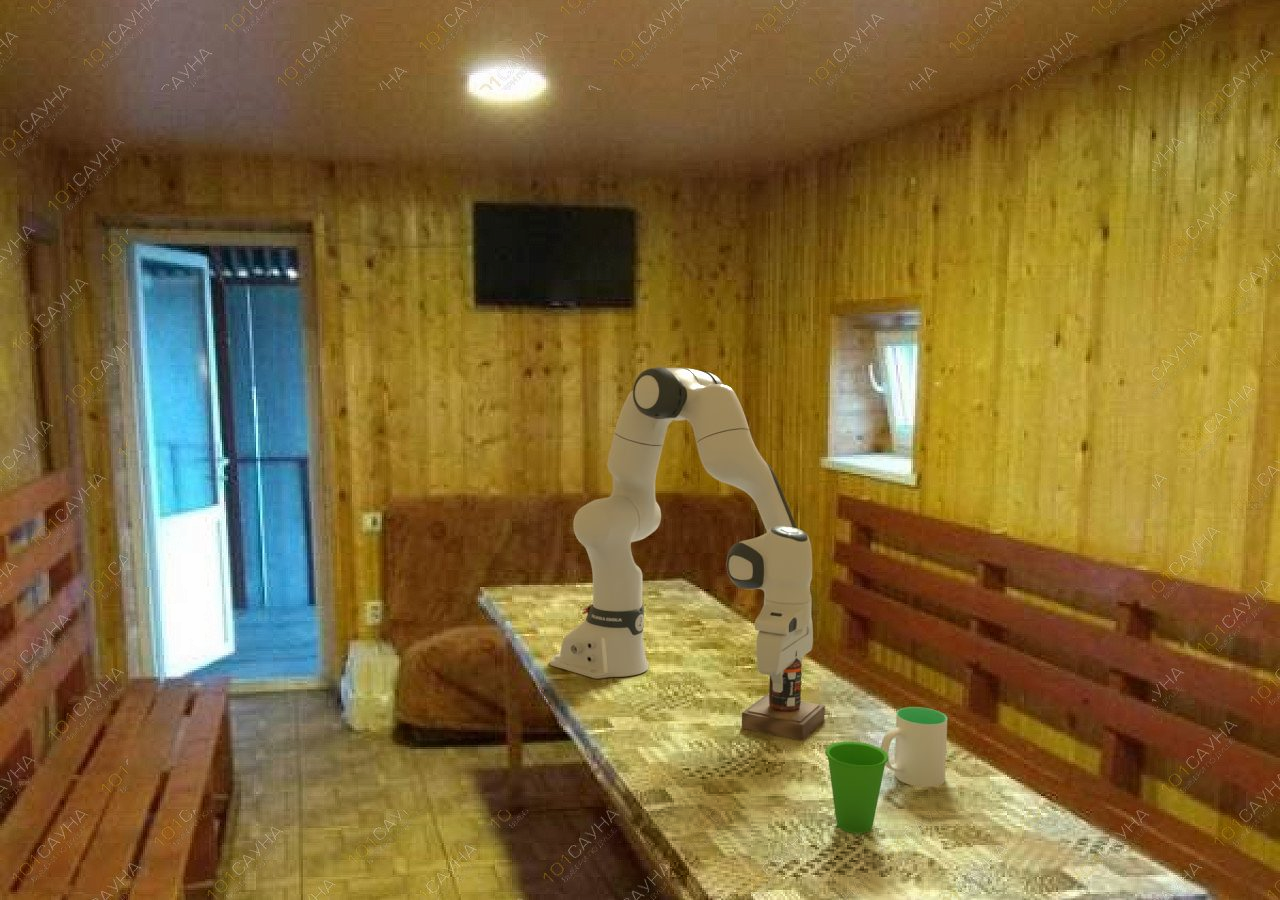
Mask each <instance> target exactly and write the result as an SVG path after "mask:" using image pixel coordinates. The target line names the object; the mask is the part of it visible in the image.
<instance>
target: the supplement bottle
mask: <svg viewBox="0 0 1280 900" xmlns="http://www.w3.org/2000/svg"><path fill="white" fill-rule="evenodd" d="M796 656H797V651H796ZM796 656H795V657H796ZM802 666H803V665H802V662H800V660H798V659H797V658H796V659H795V661H794V662H793V664H792V665H790V666H789V667H787V668H786V669H785V670H783V675H782V678H783V682H785V685H784V690H783V691H782V692H781V693H778V692H774V691H773V682H772V679H771V676H770V675H769V688H768V690H769V692H768V695H769V704H770V706H771V707H772V708H774V709H776V710H781V711H794V710H797V709H798V708H799V707H800V703H801V701H802V696H801V695H802V669H803V668H802Z"/></svg>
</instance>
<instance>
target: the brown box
mask: <svg viewBox="0 0 1280 900" xmlns="http://www.w3.org/2000/svg"><path fill="white" fill-rule="evenodd" d="M825 711H826V705H824V704H818V703H813V702H808V701H803V700H801V703H800V707H799V708H798V709H797V710H794V711H781V710H776V709H774V708H772V707H771V706H770V704H769V694H765V695H764V696H762V697H761V698H760V699H758V700H757V701H755V702H754V703H753V704H752V705H751V706H748V708H746V709H745V710H743V711H742V712H741V729H744V730H749V731H753V732H756V733H757V732H758V733H763V734H768V735H772V736H777V737H781V738H787V739H790V740H791V739H792V740H796V741H800V742H803V741H804V740H805V739H807V738H808V737H809V736H810V735H811V734H812V733H813V732H815V730H816V729H817V728H819V726H820V725H822V724H823V723H824V722H825V715H826V714H825Z"/></svg>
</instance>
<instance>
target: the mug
mask: <svg viewBox="0 0 1280 900" xmlns="http://www.w3.org/2000/svg"><path fill="white" fill-rule="evenodd" d="M895 718H896V720H895V722H896V723H895V728H891V729H890V730H888V731H887V732H886V733H885V735H884V736H883V737H882V739H881V744H880V748H881V749H882V750H884V751H885V752H886V753H887V755H888V756H889V752H890V751H889V750H890V745H891V742H892V741H893V740H894V739H895V741H894V742H895V743H894V744H895V745H894V748H895V749H894V750H895V752H894V763H893V764H891V763H890V762H891V761H890V759H889V757H888V761H887V762H886V763H885V767H886V768H887V769H889V770H891V771H894V776H895V778H896V779H897V780H899V781H900V782H902V783H904V784H907V785H910V786H915V787H919V788H920V787H921V788H936V787H938V786H942V785H943V784H944V783H945V781H946V765H947V764H946V761H947V758H946V757H947V737H948V735H947V734H948V717H947V715H946V714H945V713H943V712H941V711H939V710H935V709H933V708H928V707H920V706H908V707H903V708H900V709H898V710H897V711H896V715H895Z"/></svg>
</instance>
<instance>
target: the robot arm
mask: <svg viewBox="0 0 1280 900" xmlns="http://www.w3.org/2000/svg"><path fill="white" fill-rule="evenodd" d="M673 421H679V422H680V421H687V422H689V423H690V425H691V427H692V430H693V434H694V438H695V443H696V448H697V452H698V456H699V459H700V462H701V464H702V466H703V468H704V470H705V472H706V473H707V474H708V475H710V476H711V477H712V478H714V479H715V480H716V481H718V482H721V483H724V484H726V485H730V486H732V487H735V488H737V489H739V490H741V491H743V492H745V493H746V494H748V495H749V496H750V498H751V499H752V500H753V501H754V503H755V505H756V507H757V510H758V513H759V515H760V519H761V521H762V522H763V523H762V524H763V525H764V527H765V530H766V532H765V533H764V534H762V535H760V536H757V537H754V538H749V539H746V540H740V541H739V542H736V543H734V544H733V545H731V547H730V549H729V550H728V553H727V556H726V563H725V564H726V565H725V566H726V572H727V575H728V577H729V580H730V581H731V582H732V583H733V584H734V585H735V586H736V587H737V588H739V589H742V590H756V589H759V590H761V591H763V593H764V597H763V598H764V599H763V605H762V607H761V608H762V609H761V611H760V613H759V614H758V615H757V617H756V618H755V621H754V630H755V631H758V633H757V635H756V667H757V669H758V672H759V673H760V674H761V675H762V674H763V675H767V676H769V677H770V676H771V679H772V682H773V691H774V692H778V693H781V692H782V691H783V690H784V685H785V682H783V678H782V675H783V670H785V669H786V668H787V667H789V666H790V665H792V664H793V662H794V661H795V659H796V658H797V659H798V660H800V662H801V663H802V661H803V660H802V659H803V657H804V656H805V655H807V654H808V653H809V652H811V651H812V649H813V645H814V636H813V635H814V631H813V630H814V627H813V619H812V594H811V589H810V587H811V582H812V579H813V551H812V544H811V540H810V537H809V535H808V534H807V533H806V532H804V531H803V530H801V529H799V528H798V527H797V525H796V523H795V520H794V518H793V515H792V512H791V511H790V507H789V505H788V502H787V500H786V497H785V495H784V493H783V490H782V487H781V486H780V483H779V481H778V478H777V476H776V473H775V472H774V470H773V469H772V467H771V466H770V464H769V463H768V462H767V461H765V459H764V458H763V457H762V455H761V454H760V451H759V450H758V448H757V447H756V445H755V442H754V439H753V437H752V434H751V430H750V427H749V424H748V421H747V418H746V415H745V413H744V409H743V407H742V404H741V402H740V399H739V398H738V396H737V394H736V392H735V390H734V389H732V388H731V387H730V386H728V385H725V384H723V382H722V380H720V378H719V377H718V376H716V375H715V374H713V373H711V372H708V371H706V370H698V369H693V368H689V367H662V366H657V367H652V368H650V367H649V368H648V369H645V370H643V371H642V372H641V373H640V374H638V376H637V377H636V379H635V381H634V383H633V387H632V391H630V392H629V393H628V395H627V397H626V399H625V401H624V403H623V406H622V408H621V410H620V414H619V415H618V419H617V422H616V425H615V429H614V433H613V435H612V436H613V437H612V441H611V445H610V450H609V453H608V458H607V462H606V464H607V465H606V467H607V470H608V472H609V473H610V474H611V476H612V491H611V494H610V496H607V497H602V498H598V499H593V500H591V501H590V502H588V503H587V504H585V505H583V506H581V507H580V508H579V509H578V510H577V511H576V513H575V515H574V517H573V518H574V519H573V521H572V522H573V523H572V525H573V533H574V535H575V537H576V539H577V540H578V542H579V543H580V544H581V545H582V546H583V547H584V548H585V550H586V552H587V555H588V559H589V561H590V565H591V572H592V604H590V605H588V606H587V607H585V608H583V609H582V611H583V612H582V614H583V615H584V614H587V615H586V618H585V620H584V621H583V622H582V623H580V624H579V625H578V626H576V627H574V628H573V629H572V630H571V631H569V632H568V633H566V635H565V636H564V637H563V638H562V641H561V646H560V647H561V648H560V652H559V653H557V654H555V655H554V656H552V658H551V659H550V662H549V663H550V666H552V667H555V668H558V669H561V670H562V669H563V670H566V671H569V672H572V673H576V674H579V675H583V676H585V677H588V678H592V679H607V678H618V677H630V676H636V675H639V674H642V673H645V672H646V671H647V670H648V669H649V663H648V660H647V656H646V651H645V644H644V634H643V633H644V625H645V605H643V572H642V570H641V567H639V566H638V565H637V563H636V562H635V559H634V556H633V554H632V546H631V545H632V543H634V542H639V541H643V539H646V538H648V536H650V535H651V534H653V533H654V532H656V530H657V529H658V528H659V526H660V524H661V520H662V512H661V507H660V505H659V504H658V502H657V499H656V479H657V473H658V467H659V464H660V459H661V455H662V451H663V447H664V444H665V438H666V434H667V430H668V427H669V425H670V424H671V423H672V422H673ZM796 651H797V656H796ZM795 656H796V657H795Z"/></svg>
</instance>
